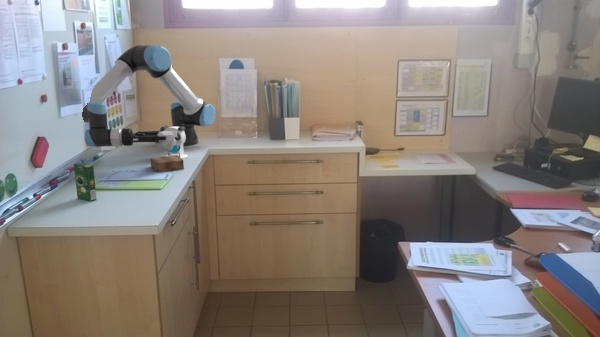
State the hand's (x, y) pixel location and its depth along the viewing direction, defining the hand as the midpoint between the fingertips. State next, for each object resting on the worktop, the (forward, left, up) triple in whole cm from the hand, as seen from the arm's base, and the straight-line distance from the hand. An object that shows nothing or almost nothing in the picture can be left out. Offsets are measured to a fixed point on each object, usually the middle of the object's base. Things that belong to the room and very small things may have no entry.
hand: (175, 135), depth 239 cm
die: (+5, -1, -6) cm, 8 cm away
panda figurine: (-4, -22, -15) cm, 26 cm away
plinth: (+4, -2, -14) cm, 15 cm away
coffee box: (+40, +32, -15) cm, 54 cm away
